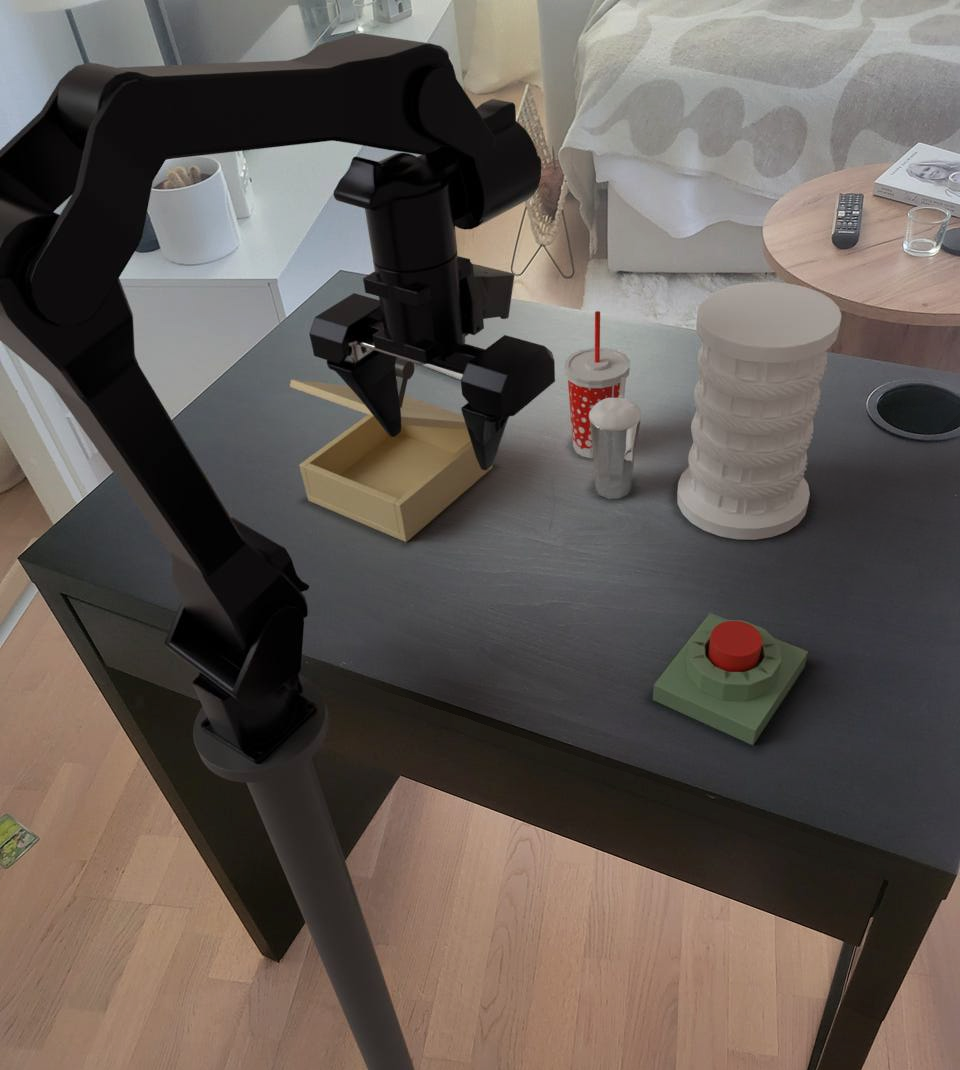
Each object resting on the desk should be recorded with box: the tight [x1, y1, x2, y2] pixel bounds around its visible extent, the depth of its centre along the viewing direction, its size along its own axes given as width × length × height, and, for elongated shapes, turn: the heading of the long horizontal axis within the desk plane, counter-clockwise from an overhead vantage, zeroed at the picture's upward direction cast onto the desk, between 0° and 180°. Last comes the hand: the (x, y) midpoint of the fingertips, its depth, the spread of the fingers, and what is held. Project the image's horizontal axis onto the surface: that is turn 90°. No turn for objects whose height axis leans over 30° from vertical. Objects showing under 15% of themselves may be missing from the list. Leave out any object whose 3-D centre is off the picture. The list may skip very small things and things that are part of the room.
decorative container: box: [676, 281, 842, 541], centre depth 80 cm, size 12×12×18 cm
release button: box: [708, 621, 762, 672], centre depth 68 cm, size 4×4×2 cm
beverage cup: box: [563, 310, 631, 460], centre depth 89 cm, size 6×6×14 cm
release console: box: [652, 612, 809, 746], centre depth 70 cm, size 9×8×4 cm
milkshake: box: [589, 377, 642, 500], centre depth 86 cm, size 4×5×10 cm
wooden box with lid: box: [289, 357, 467, 430], centre depth 86 cm, size 14×12×5 cm
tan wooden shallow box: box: [298, 414, 493, 543], centre depth 91 cm, size 13×12×4 cm
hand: (440, 450), depth 75 cm, fingers open, 9 cm apart
